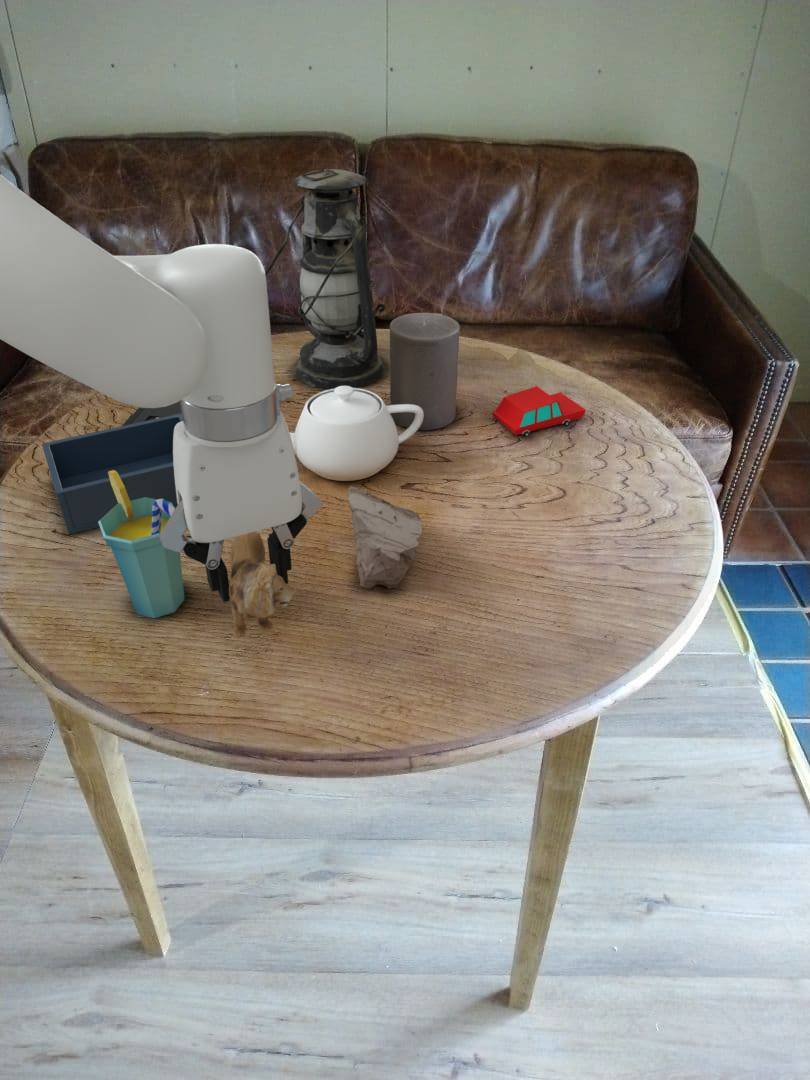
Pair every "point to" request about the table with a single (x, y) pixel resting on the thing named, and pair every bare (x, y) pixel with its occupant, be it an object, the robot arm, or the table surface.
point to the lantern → (335, 284)
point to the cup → (143, 551)
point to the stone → (382, 538)
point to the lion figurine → (254, 584)
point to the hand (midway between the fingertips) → (251, 583)
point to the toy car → (536, 410)
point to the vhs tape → (153, 413)
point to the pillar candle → (424, 368)
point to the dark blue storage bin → (126, 450)
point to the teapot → (349, 433)
